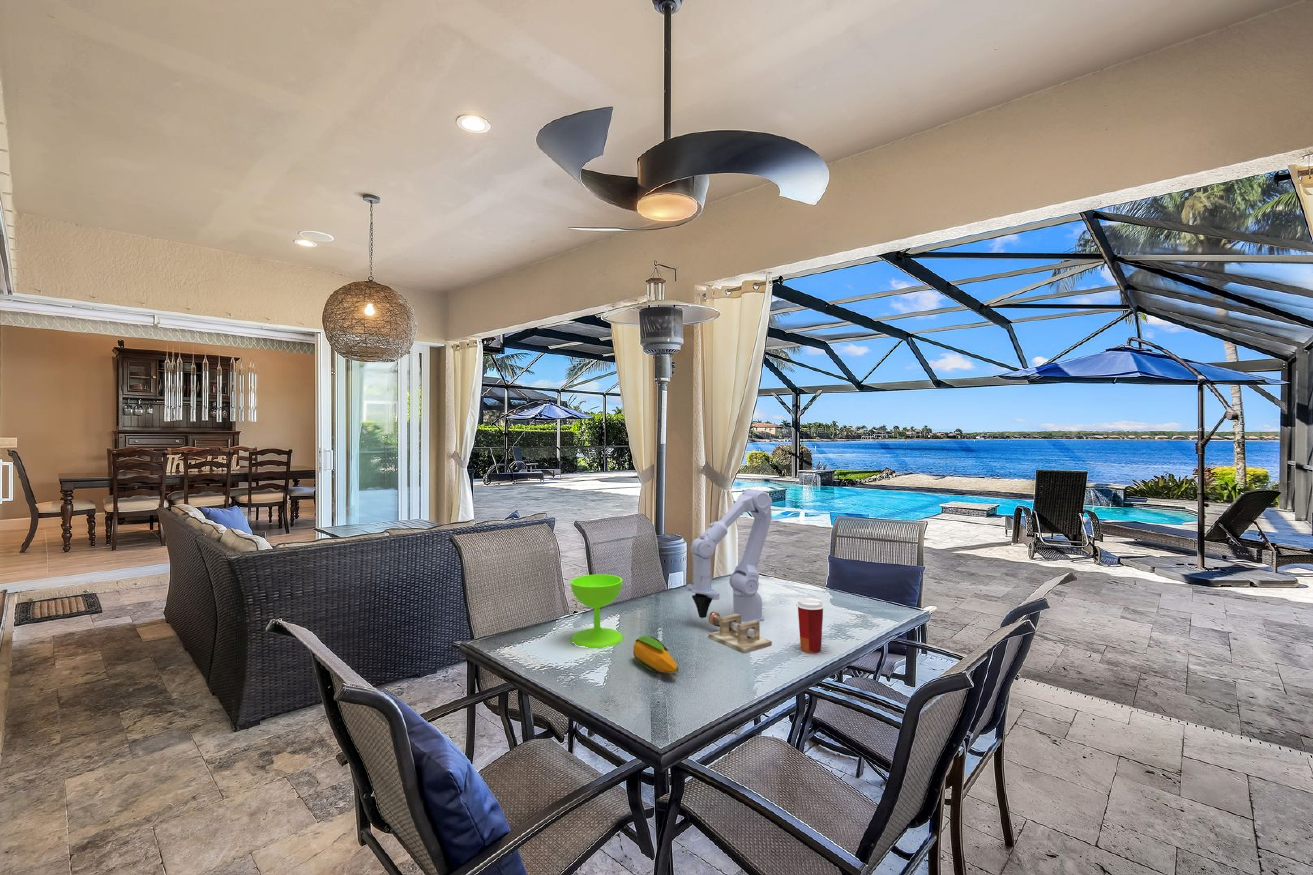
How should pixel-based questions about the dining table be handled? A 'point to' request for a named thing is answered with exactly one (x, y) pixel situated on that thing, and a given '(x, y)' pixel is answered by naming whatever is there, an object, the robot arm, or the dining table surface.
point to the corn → (654, 655)
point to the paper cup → (810, 624)
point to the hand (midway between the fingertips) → (702, 617)
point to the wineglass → (597, 608)
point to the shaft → (715, 619)
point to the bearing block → (739, 635)
